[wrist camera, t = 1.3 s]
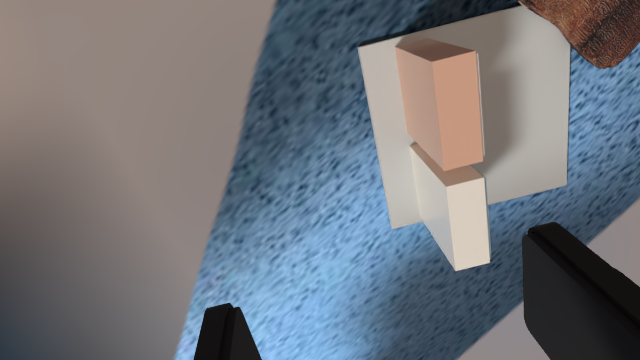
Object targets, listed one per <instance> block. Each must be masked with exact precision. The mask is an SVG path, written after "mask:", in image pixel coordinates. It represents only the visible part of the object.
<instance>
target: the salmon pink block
mask: <svg viewBox="0 0 640 360" xmlns="http://www.w3.org/2000/svg"><path fill="white" fill-rule="evenodd" d="M395 52H396V59H397V65H398V72H399V79H400V86H401V92H402V99H403V106H404V112H405V119H406V126H407V133H408V134H409V135H410V136H411V137H412V138H413V139H414V140H415V141H416V142H417V143H418V144H419V145H420V146H421V148H422V149H423V150H424V151H425V152H426V153H427V154H428V155H429V156H430V157H431V158H432V159H433V160H434V161H435V162H436V163H437V164H438V165H439V166H440V167H441V168H442V169H443V170H444V171H447V170H451V169H455V168H459V167H463V166H466V165H470V164H474V163H478V162H482V161H483V156H485V152H484V136H483V121H482V106H481V91H480V75H479V60H478V53H476V51H475V50H471V49H467V48H463V47H459V46H456V45H452V44H448V43H444V42H440V41H436V40H433V39H429V38H427V39H423V40H419V41H415V42H411V43H407V44H403V45H400V46H396V47H395Z"/></svg>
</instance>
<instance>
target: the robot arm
mask: <svg viewBox="0 0 640 360" xmlns="http://www.w3.org/2000/svg"><path fill="white" fill-rule="evenodd" d="M522 255H523V296H524V320H525V323H526V326H527V328H528V330H529V331H530V333H531V334H532V335H533V337H534V338H535V340H536V341H537V342H538V344H539V345H540V346H541V348H542V349H543V350H544V352H545V353H546V354H547V355H548V357H549V358H550V360H640V287H639V286H638V285H636V284H635V283H634V282H633V281H631V280H630V279H629V278H628V277H626V276H625V275H624V274H623V273H621V272H620V271H618V270H617V269H615V268H613V267H611V266H610V265H609V264H608V263H607V262H605V261H604V260H603V259H602V258H600V257H599V256H598V255H597V254H595V253H594V252H593V251H592V250H590V249H589V248H588V247H587V246H585V245H584V244H583V243H582V242H580V241H579V240H578V239H577V238H576V237H574V236H573V235H572V234H571V233H569V232H568V231H567V230H566V229H564V228H563V227H562V226H561V225H559V224H558V223H556V222H551V223H547V224H543V225H539V226H535V227H531V228H529V230H528V235H525V236H523V238H522ZM194 360H262V359H261V357H260V354H259V352H258V349H257V347H256V345H255V342H254V340H253V337H252V335H251V332H250V330H249V327H248V325H247V323H246V320H245V318H244V315H243V313H242V311H241V309H240V307H235V308H233V306H232V305H231V304H230V303H226V304H222V305H218V306H214V307H210V308H207V309H206V311H205V313H204V318H203V322H202V326H201V330H200V335H199V339H198V343H197V347H196V352H195V356H194Z"/></svg>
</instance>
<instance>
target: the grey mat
mask: <svg viewBox="0 0 640 360" xmlns="http://www.w3.org/2000/svg"><path fill="white" fill-rule="evenodd" d="M427 38H429V39H433V40H436V41H440V42H444V43H448V44H452V45H456V46H459V47H463V48H467V49H471V50H475V51H476V53H478V60H479V75H480V91H481V106H482V121H483V136H484V152H485V156H483V161H482V162H478V163H474V164H470V165H472V166H473V167H474V168H475V169H476V170H477V171H478V172H480V173H481V174H482V175H483V176H484V177H485V178H486V182H487V197H488V205H490V204H494V203H498V202H502V201H506V200H510V199H514V198H518V197H522V196H526V195H530V194H534V193H538V192H542V191H546V190H550V189H554V188H558V187H562V186H566V185H567V149H568V113H569V76H570V44H569V43H568V41H567V40H566V39H565V37H564V36H563V34H562V33H561V32H560V30H559V29H558V28H557V27H556V26H555V25H553V24H552V23H551V22H550V21H548V20H546V19H544V18H542V17H540V16H538V15H537V14H535V13H534V12H532V11H530V10H529V9H527V8H525V7H524V6H522V5H520V6H516V7H512V8H508V9H504V10H500V11H496V12H492V13H489V14H485V15H481V16H477V17H473V18H469V19H465V20H461V21H457V22H453V23H450V24H446V25H442V26H438V27H434V28H430V29H426V30H422V31H418V32H414V33H411V34H407V35H403V36H399V37H395V38H391V39H387V40H383V41H379V42H375V43H372V44H368V45H364V46H360V47H358V52H359V57H360V63H361V68H362V73H363V79H364V84H365V89H366V95H367V100H368V106H369V111H370V116H371V122H372V127H373V132H374V138H375V143H376V149H377V154H378V159H379V165H380V170H381V175H382V181H383V186H384V192H385V197H386V202H387V208H388V213H389V218H390V224H391V228H392V229H395V228H399V227H403V226H407V225H411V224H415V223H419V222H423V220H422V219H421V217H420V213H419V207H418V200H417V193H416V186H415V180H414V173H413V166H412V160H411V153H410V146H411V145H415V144H418V143H417V142H416V141H415V140H414V139H413V138H412V137H411V136H410V135H409V134H408V133H407V126H406V119H405V112H404V106H403V99H402V92H401V86H400V79H399V72H398V65H397V59H396V52H395V47H396V46H400V45H403V44H407V43H411V42H415V41H419V40H423V39H427Z"/></svg>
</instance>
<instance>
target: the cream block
mask: <svg viewBox="0 0 640 360" xmlns="http://www.w3.org/2000/svg"><path fill="white" fill-rule="evenodd" d="M410 153H411V160H412V166H413V173H414V180H415V186H416V193H417V200H418V207H419V213H420V217H421V219H422V220H423V222H424V224H425V225H426V227H427V228H428V230H429V231H430V233H431V234H432V236H433V237H434V239H435V240H436V242H437V244H438V245H439V247H440V248H441V250H442V251H443V253H444V254H445V256H446V257H447V259H448V260H449V262H450V264H451V265H452V267H453V268H454V270H455V271H459V270H463V269H467V268H471V267H475V266H479V265H483V264H487V263H490V258H491V243H490V228H489V213H488V197H487V182H486V178H485V177H484V176H483V175H482V174H481V173H480V172H478V171H477V170H476V169H475V168H474V167H473V166H472V165H466V166H463V167H459V168H455V169H451V170H447V171H444V170H443V169H442V168H441V167H440V166H439V165H438V164H437V163H436V162H435V161H434V160H433V159H432V158H431V157H430V156H429V155H428V154H427V153H426V152H425V151H424V150H423V149H422V148H421V146H420V145H419V144H415V145H411V146H410Z"/></svg>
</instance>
